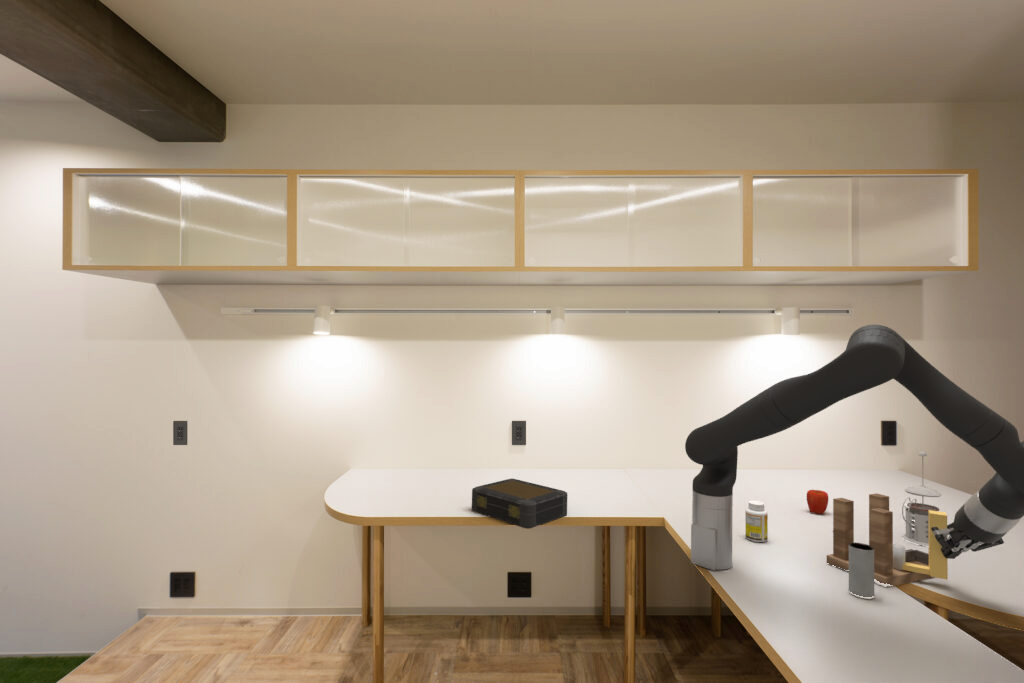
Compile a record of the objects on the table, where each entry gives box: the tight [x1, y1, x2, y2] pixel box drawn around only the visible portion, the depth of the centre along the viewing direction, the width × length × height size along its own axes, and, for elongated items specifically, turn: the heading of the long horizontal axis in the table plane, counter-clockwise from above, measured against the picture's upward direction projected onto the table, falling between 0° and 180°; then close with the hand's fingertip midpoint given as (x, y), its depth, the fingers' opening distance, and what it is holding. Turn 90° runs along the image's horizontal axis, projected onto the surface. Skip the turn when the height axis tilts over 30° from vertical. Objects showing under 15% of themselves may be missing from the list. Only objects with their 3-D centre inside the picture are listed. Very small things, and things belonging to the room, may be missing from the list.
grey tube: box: [848, 541, 875, 597], centre depth 110 cm, size 4×4×10 cm
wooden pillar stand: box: [826, 493, 932, 587], centre depth 123 cm, size 18×14×16 cm
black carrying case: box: [471, 478, 568, 530], centre depth 163 cm, size 25×20×8 cm
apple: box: [806, 489, 829, 515], centre depth 168 cm, size 6×6×8 cm
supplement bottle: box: [744, 500, 769, 543], centre depth 142 cm, size 6×6×10 cm
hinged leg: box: [893, 510, 949, 581], centre depth 117 cm, size 10×3×14 cm, turn 56°
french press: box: [901, 451, 942, 547], centre depth 143 cm, size 10×12×25 cm
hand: (947, 554), depth 113 cm, fingers closed
